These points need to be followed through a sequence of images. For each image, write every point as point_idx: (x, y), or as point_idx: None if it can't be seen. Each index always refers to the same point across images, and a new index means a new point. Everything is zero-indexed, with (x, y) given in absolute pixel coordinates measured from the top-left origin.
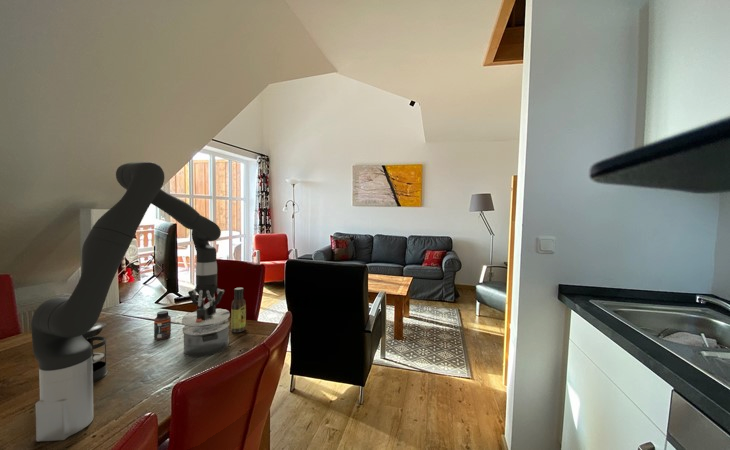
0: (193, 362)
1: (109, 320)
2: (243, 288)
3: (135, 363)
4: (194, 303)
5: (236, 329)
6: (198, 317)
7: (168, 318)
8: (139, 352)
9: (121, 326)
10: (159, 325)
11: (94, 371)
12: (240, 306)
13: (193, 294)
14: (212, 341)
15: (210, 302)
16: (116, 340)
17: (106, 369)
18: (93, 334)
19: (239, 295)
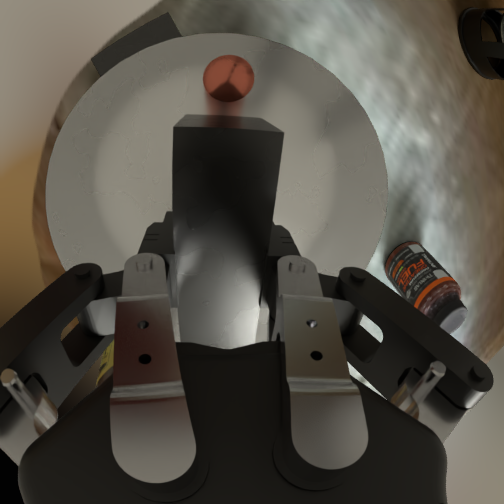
0: (218, 25)
1: (484, 338)
2: None
3: (425, 78)
4: (360, 274)
5: None
6: (249, 120)
7: (425, 303)
8: (439, 159)
9: (475, 318)
10: (438, 271)
11: (483, 12)
12: (105, 379)
13: (421, 374)
14: None
15: (149, 284)
16: (485, 250)
17: (470, 45)
18: None
19: None
